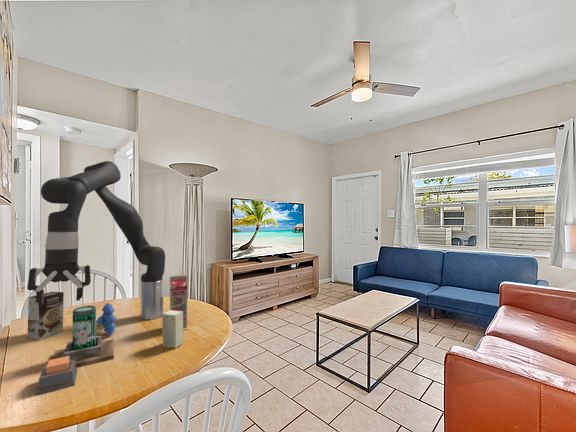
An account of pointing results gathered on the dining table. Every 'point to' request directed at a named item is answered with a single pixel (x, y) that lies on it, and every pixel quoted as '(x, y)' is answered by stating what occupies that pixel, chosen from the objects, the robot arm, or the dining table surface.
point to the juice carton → (179, 296)
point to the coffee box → (45, 316)
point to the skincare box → (172, 328)
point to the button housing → (57, 379)
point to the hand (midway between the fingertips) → (60, 302)
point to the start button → (58, 365)
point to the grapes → (107, 319)
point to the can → (84, 327)
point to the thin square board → (88, 353)
